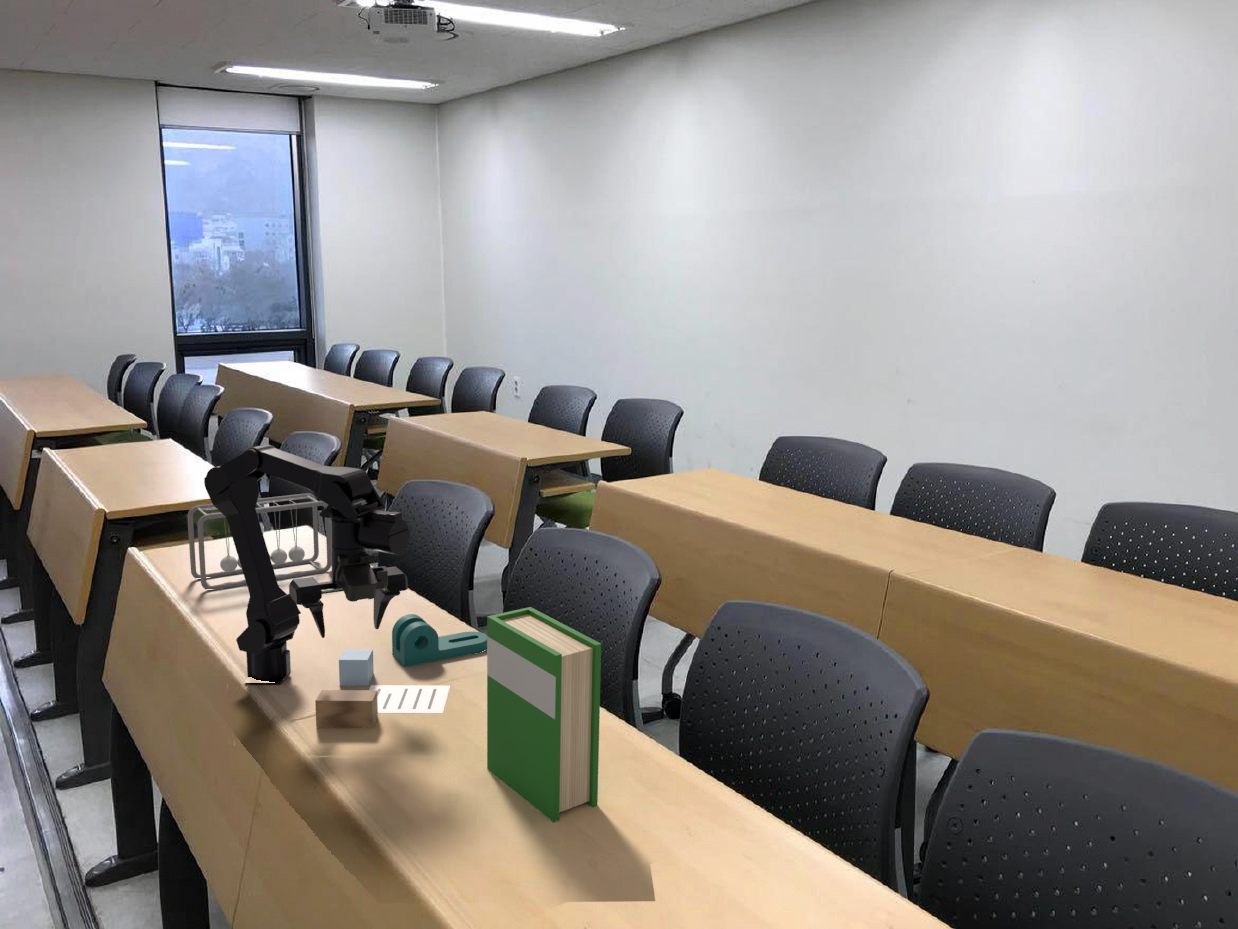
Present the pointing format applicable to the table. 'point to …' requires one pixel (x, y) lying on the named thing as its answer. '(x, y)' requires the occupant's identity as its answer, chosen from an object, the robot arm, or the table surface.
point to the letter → (411, 698)
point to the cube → (356, 667)
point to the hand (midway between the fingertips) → (350, 632)
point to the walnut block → (346, 709)
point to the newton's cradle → (276, 556)
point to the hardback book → (543, 710)
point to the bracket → (431, 642)
